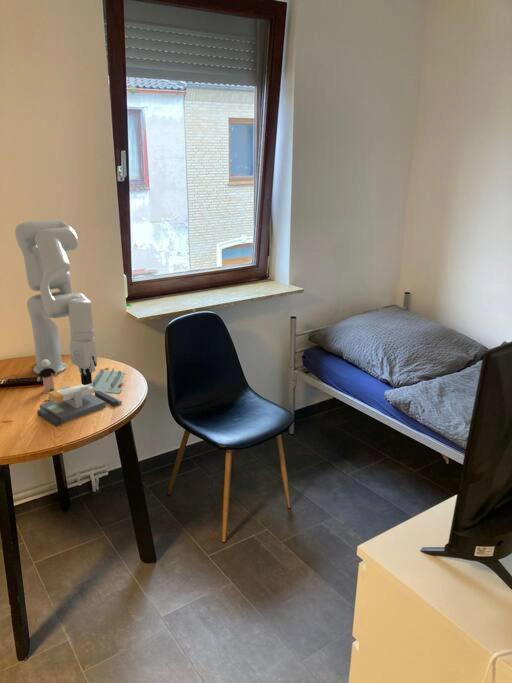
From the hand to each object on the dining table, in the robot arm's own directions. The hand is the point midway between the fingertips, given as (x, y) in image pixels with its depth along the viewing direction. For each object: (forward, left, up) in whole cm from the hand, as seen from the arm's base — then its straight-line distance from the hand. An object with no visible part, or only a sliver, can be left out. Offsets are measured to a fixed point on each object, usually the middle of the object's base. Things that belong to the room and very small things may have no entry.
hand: (86, 383), depth 190 cm
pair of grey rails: (+2, -5, -8) cm, 9 cm away
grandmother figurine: (-19, -5, -8) cm, 21 cm away
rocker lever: (0, -6, -3) cm, 7 cm away
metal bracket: (-8, +13, -8) cm, 18 cm away
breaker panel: (0, -6, -8) cm, 10 cm away
